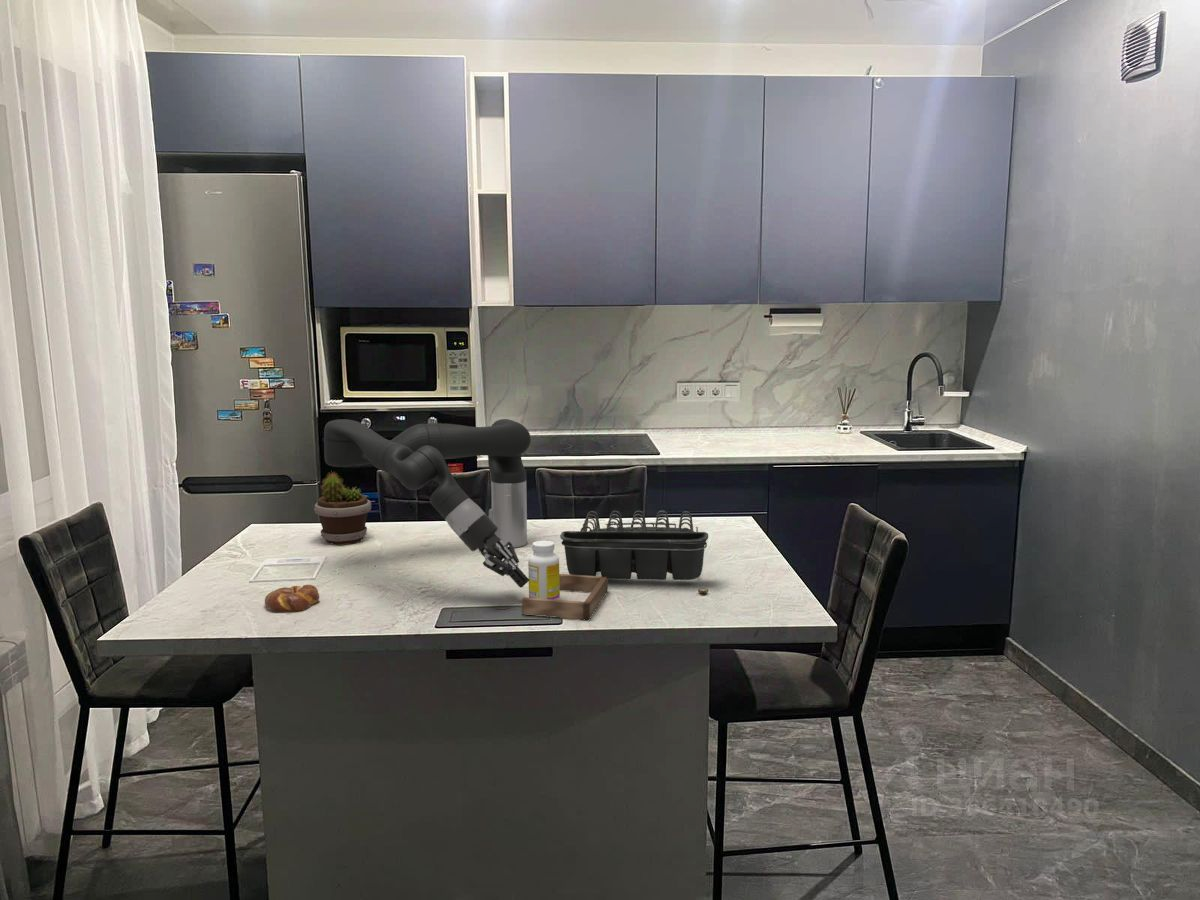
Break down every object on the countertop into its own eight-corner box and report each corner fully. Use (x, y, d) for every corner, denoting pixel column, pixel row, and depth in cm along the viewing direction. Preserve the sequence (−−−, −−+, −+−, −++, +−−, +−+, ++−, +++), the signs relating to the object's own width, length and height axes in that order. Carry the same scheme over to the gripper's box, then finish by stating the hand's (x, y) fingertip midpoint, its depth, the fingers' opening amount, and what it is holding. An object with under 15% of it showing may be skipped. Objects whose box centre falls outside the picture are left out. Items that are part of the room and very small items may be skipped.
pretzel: (298, 593, 198) (297, 577, 198) (332, 602, 193) (332, 585, 192) (252, 608, 188) (251, 591, 188) (287, 618, 183) (286, 600, 182)
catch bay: (521, 615, 184) (521, 598, 183) (546, 587, 201) (545, 572, 201) (588, 620, 181) (588, 604, 180) (607, 592, 198) (607, 576, 198)
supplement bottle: (561, 596, 195) (561, 539, 193) (557, 606, 189) (556, 547, 187) (531, 595, 196) (530, 538, 194) (526, 605, 190) (525, 547, 187)
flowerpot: (347, 530, 251) (344, 460, 248) (384, 539, 242) (381, 466, 239) (304, 541, 240) (300, 468, 236) (340, 550, 231) (337, 475, 228)
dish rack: (557, 587, 203) (557, 535, 201) (580, 536, 246) (580, 494, 244) (707, 591, 200) (708, 539, 198) (704, 540, 243) (705, 496, 241)
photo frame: (326, 555, 224) (314, 577, 207) (326, 559, 224) (315, 581, 207) (265, 557, 222) (248, 579, 204) (266, 562, 222) (249, 584, 205)
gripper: (471, 528, 199) (523, 585, 198) (447, 543, 186) (502, 604, 185) (493, 506, 197) (546, 564, 196) (471, 520, 184) (527, 582, 183)
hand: (525, 584), depth 191 cm, fingers closed
